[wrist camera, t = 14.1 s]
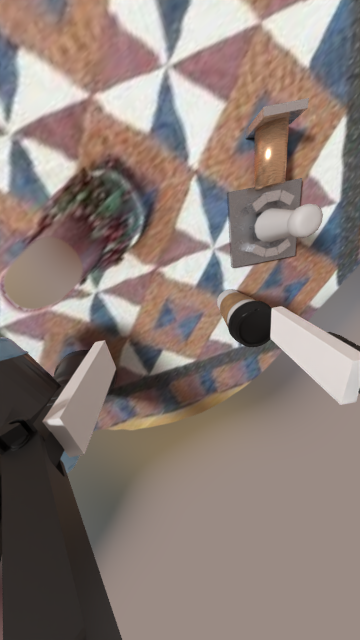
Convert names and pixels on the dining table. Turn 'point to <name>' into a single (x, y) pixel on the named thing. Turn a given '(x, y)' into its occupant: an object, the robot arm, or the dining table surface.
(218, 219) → the dining table surface
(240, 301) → the coffee cup
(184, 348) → the dining table surface
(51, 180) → the dining table surface
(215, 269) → the dining table surface
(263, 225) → the salt shaker
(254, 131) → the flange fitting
